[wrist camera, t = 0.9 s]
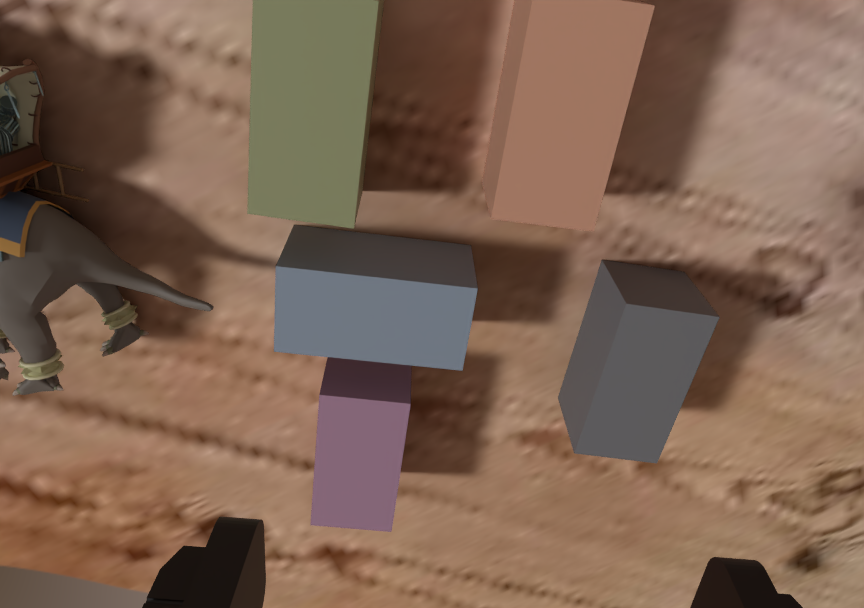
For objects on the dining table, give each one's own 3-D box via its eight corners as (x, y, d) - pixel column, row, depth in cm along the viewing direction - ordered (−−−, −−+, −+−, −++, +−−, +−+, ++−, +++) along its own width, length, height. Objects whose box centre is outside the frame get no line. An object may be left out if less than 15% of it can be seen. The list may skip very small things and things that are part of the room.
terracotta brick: (517, -21, 25) (534, -13, 21) (619, -5, 26) (655, 5, 22) (481, 181, 29) (490, 218, 25) (571, 192, 29) (593, 231, 26)
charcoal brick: (600, 258, 31) (626, 303, 27) (683, 270, 31) (719, 317, 28) (557, 395, 35) (574, 453, 31) (631, 405, 35) (656, 463, 31)
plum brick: (331, 340, 33) (319, 395, 29) (411, 349, 33) (410, 403, 29) (321, 463, 37) (310, 525, 33) (394, 469, 37) (391, 531, 33)
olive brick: (279, -28, 25) (253, -21, 21) (385, -10, 25) (378, 1, 22) (270, 176, 29) (247, 213, 25) (362, 189, 29) (353, 228, 25)
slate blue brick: (291, 301, 32) (274, 351, 28) (294, 223, 30) (275, 266, 26) (457, 318, 32) (462, 370, 29) (470, 243, 31) (477, 288, 27)
